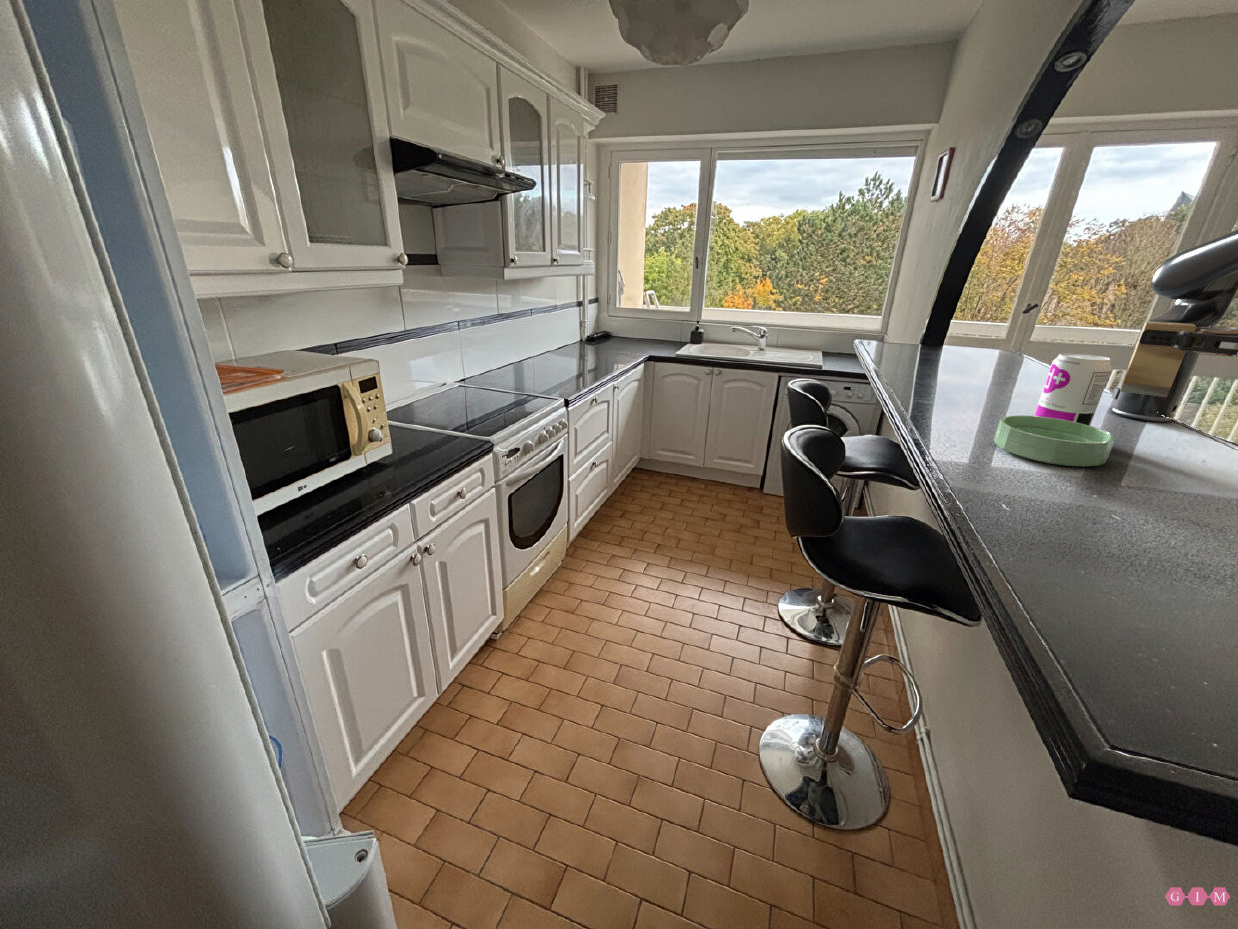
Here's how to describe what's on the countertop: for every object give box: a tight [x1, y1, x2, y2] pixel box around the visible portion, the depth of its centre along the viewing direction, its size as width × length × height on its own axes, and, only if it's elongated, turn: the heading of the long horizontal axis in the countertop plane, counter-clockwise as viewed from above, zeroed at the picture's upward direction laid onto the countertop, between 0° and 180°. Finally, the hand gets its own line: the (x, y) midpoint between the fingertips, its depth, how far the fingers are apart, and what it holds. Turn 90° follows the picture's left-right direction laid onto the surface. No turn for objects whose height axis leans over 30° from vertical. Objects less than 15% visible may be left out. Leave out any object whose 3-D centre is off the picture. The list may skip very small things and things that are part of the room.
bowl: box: [993, 414, 1116, 467], centre depth 87 cm, size 15×15×4 cm
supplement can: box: [1034, 352, 1113, 426], centre depth 94 cm, size 8×8×15 cm
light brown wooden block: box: [1119, 320, 1196, 397], centre depth 82 cm, size 4×6×11 cm
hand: (1141, 334), depth 82 cm, fingers closed on light brown wooden block, 4 cm apart
